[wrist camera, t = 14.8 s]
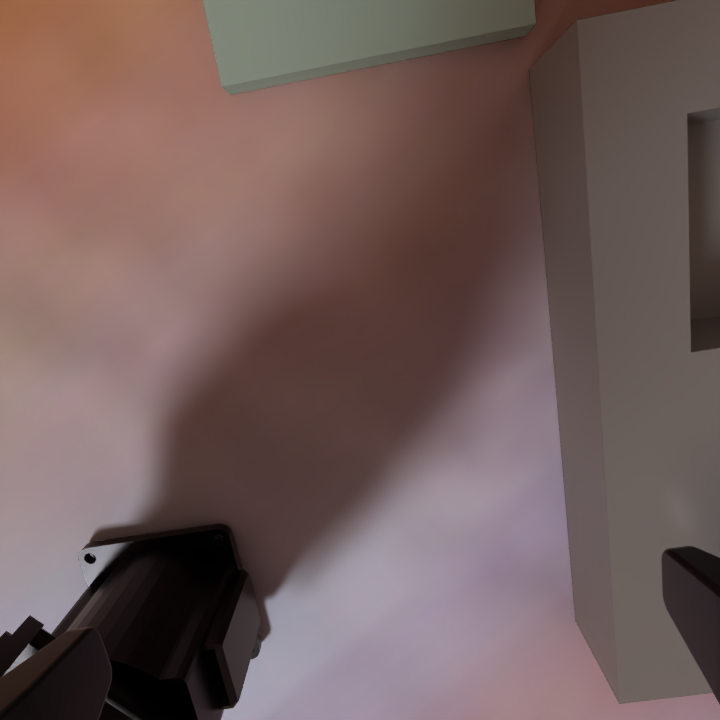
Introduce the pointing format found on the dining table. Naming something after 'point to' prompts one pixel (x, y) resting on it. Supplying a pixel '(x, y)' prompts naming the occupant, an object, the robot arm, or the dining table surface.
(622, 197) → the housing
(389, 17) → the mat
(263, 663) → the dining table surface
